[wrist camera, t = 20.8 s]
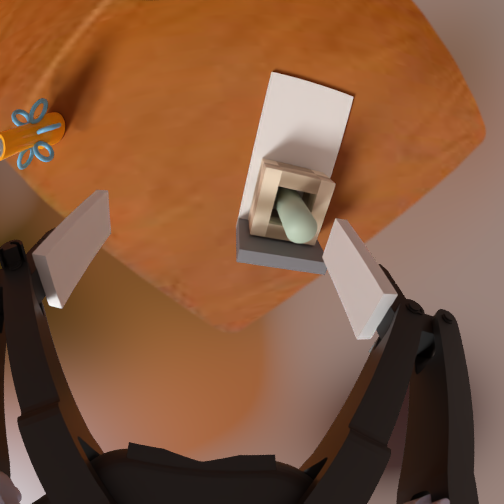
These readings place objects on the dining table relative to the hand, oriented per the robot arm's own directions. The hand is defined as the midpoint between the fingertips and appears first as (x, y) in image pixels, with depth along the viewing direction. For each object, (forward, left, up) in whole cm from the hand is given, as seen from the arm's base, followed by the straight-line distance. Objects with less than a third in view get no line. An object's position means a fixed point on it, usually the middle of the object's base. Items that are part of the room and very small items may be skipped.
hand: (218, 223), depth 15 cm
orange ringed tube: (0, -32, -29) cm, 43 cm away
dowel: (+6, +10, -28) cm, 30 cm away
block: (+6, +10, -28) cm, 31 cm away
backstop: (+1, +10, -28) cm, 30 cm away
